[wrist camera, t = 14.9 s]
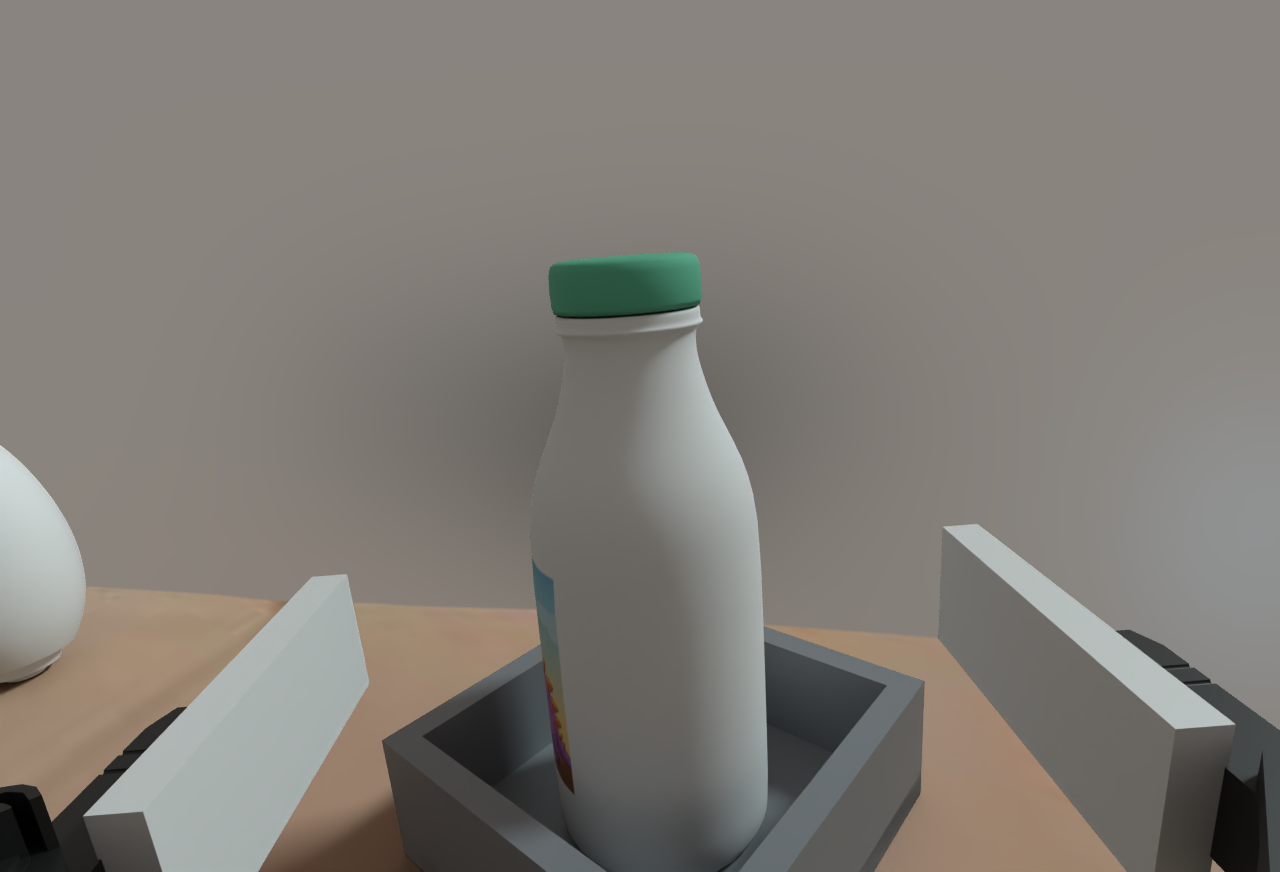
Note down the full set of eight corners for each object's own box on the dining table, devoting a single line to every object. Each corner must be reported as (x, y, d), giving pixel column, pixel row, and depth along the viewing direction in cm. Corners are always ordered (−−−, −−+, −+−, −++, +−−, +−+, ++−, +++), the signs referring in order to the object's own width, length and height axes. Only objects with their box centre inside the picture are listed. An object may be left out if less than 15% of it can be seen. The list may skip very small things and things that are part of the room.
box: (404, 853, 26) (382, 740, 25) (647, 671, 36) (639, 584, 35) (709, 1147, 17) (698, 992, 15) (920, 793, 27) (924, 681, 25)
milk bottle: (798, 768, 27) (789, 242, 22) (714, 935, 21) (674, 253, 16) (631, 713, 31) (591, 256, 26) (519, 839, 25) (436, 270, 20)
